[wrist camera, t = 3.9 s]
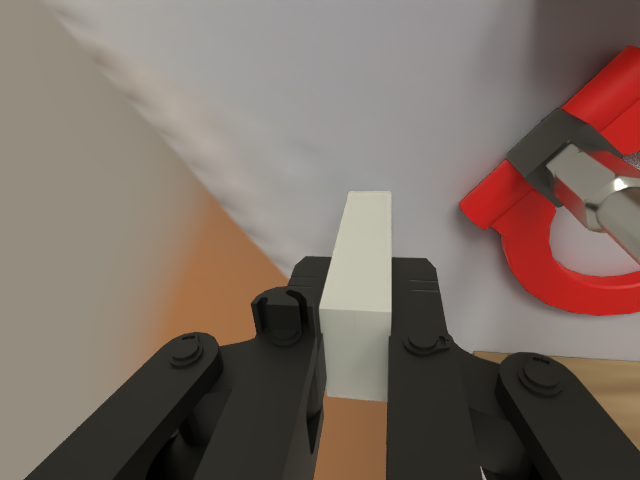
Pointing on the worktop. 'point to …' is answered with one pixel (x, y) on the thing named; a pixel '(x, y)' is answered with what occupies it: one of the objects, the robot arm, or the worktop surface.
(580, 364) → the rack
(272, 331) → the robot arm
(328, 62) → the worktop surface
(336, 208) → the worktop surface
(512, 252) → the tow hook
